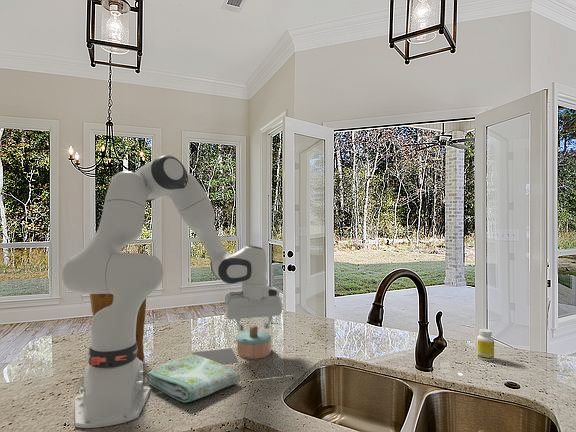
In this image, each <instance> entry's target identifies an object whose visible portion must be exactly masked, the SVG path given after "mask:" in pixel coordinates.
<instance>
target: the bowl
mask: <svg viewBox="0 0 576 432" xmlns="http://www.w3.org/2000/svg"><path fill="white" fill-rule="evenodd" d="M235 350H236V354H237V356H239V357H242V358H244V359H260V358H265V357H268V356H270V354H271V352H272V339H271V340H270V341H269V342H267V343H263V344H257V345H248V344H242V343H239V342H237V341H236V349H235Z"/></svg>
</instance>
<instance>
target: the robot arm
mask: <svg viewBox="0 0 576 432" xmlns="http://www.w3.org/2000/svg"><path fill="white" fill-rule="evenodd" d="M106 191H107V192H106V196H105V199H104V203H103V207H102V208H103V209H102V213H101V214H102V215H101V217H100V221H99V224H98V225H99V226H98V227H97V229H96V230H97V231H96V232H95V234H94V236H93V238H92V239H91V240H90V241H89V243H88V244H86V246H85V247H84V248H82V250H80V251H79V252H78V253H76V254H74V255H72V256H70V257H69V259H68V260H66V262H65V264H64V266H63V268H62V272H61V273H62V274H61V276H62V281H63V284H64V285H65V287H66V288H67V289H68V290H69V291H71V292H76V293H80V294H86V295H90V294H113V303H112V305H109V306H107V307H105V308H103V309H102V310H100V311H98V312H97V313H96V314H95V315H94V317H93V316H92V318H91V322H90V346H89V349H88V355H87V356H88V364H87V365H86V366H85V367H84V368H83V386H82V387H81V388H80V390H79V391H80V394H78V395H76V396H75V397H74V400H73V409H74V426H75V428H80V429H91V428H93V429H95V428H102V427H110V426H115V425H119V424H124V423H127V422H130V421H133V420H136V419H138V418H139V416H140V414H141V412H142V411H143V408H144V406H145V404H146V402H147V400H148V398H149V397H150V394H151V387H149V386H146V385H145V384H144V372H145V371H144V362H143V361H142V360H141V359H140V360H139V359H138V358H137V351H138V346H137V341H136V322H137V315H138V311H139V308H140V306H141V304H142V303H143V301H144V300H145V299H146V300H147V297H148V296H149V295H150V294H152V293H153V292H154V291H156V290H157V289H158V288H159V287H160V285H161V284H162V282H163V279H164V272H165V271H164V266H163V264H162V262H161V260H160V259H159V258H158V257H157V255H156V256H155V255H151V254H147V253H142V252H121V251H122V249H123V248H124V247H125V246H127V245H128V244H131V243H132V242H134V241H136V240H138V238H139V237H140V236H141V235H142V234H143V226H144V220H145V212H146V206H147V205H146V204H147V202H152V201H155V199H158V198H160V197H161V198H162V197H164V196H166V197H167V198H169V199H170V200H171V201H172V203H173V205H174V206H175V208H176V211H177V212H178V214H179V216H180V217H181V219H182V220H183V221H184V222H185V225H187V226H188V227H189V229H190V230H191V231H192V232H193V233H195V235H196V237H198V239H199V240H200V242H201V244H202V246H203V247H204V249H205V251H206V253H207V255H208V257H209V260H210V261H209V262H210V269H211V272H212V275H213V276H215V277H216V278H217V279H218V280H220V281H222V282H223V283H224V284H228V285H229V284H230V285H233V284H237V283H241V291H230V292H228V293H227V294H226V295H225V297H224V299H225V300H224V302H225V304H226V305H225V317H226V318H227V319H228V320H234V321H235V322H236V324H237V325H238V326H237V327H238V329H237V330H238V331H239V332H242V331H243V332H244V325H243V324H241V323H240V322H241V319H251V318H253V319H254V318H264V317H266V318H267V321H266V322H264V323H263V327H264V329H267V330H269V329H270V324H271V322H272V320H273V317H276V316H279V317H280V316H281V315H282V314H283V304H282V299H281V297H280V290H279V289H278V288H276V287H274V286H270V285H267V284H268V282H267V278H266V277H267V271H268V267H267V265H268V264H267V263H268V261H267V255H266V254H267V253H266V251H265V249H264V248H262V247H260V246H255V245H251V244H250V245H249V244H247V245H244V247H242V248H240V249H239V250H238V251H236V252H234V253H230V252H229V251H228V250H227V249H226V248H225V246H224V244H223V242H222V241H221V238H220V236H219V234H218V233H217V231H216V228H215V218H216V213H215V209H214V207H213V204H212V202H211V200H210V198H209V196H208V194H207V192H206V191H205V189H204V188H203V187H202V185H201V184H200V182H199V181H198V180H197V178H195V176H194V175H193V174H192V173H189V172H187V170H186V168H185V166H184V164H183V163H182V162H181V160H179V159H178V158H176V157H175V156H174V155H169V154H168V155H167V154H165V155H162V156H158V157H155V159H154V160H151V161H149V162H147V163H145V164H143V165H142V166H141V167H139V169H137V170H136V171H131V170H122V171H120V172H117V173H116V174H114V175H113V176H112V179H111V181H110V184H109V185H108V188H107V190H106Z"/></svg>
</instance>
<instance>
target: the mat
mask: <svg viewBox="0 0 576 432" xmlns="http://www.w3.org/2000/svg"><path fill="white" fill-rule="evenodd" d="M192 355H198V356H201V357H203V358H206V359H210V360H212V361H215V362H217V363H219V364H222V365H229V364H238V363H240V362H239V359H238V358H237V355H236V354H235V352H234V350H233V349H232V348H222V349H211V350H204V351H194V352H193V351H192Z"/></svg>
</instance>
